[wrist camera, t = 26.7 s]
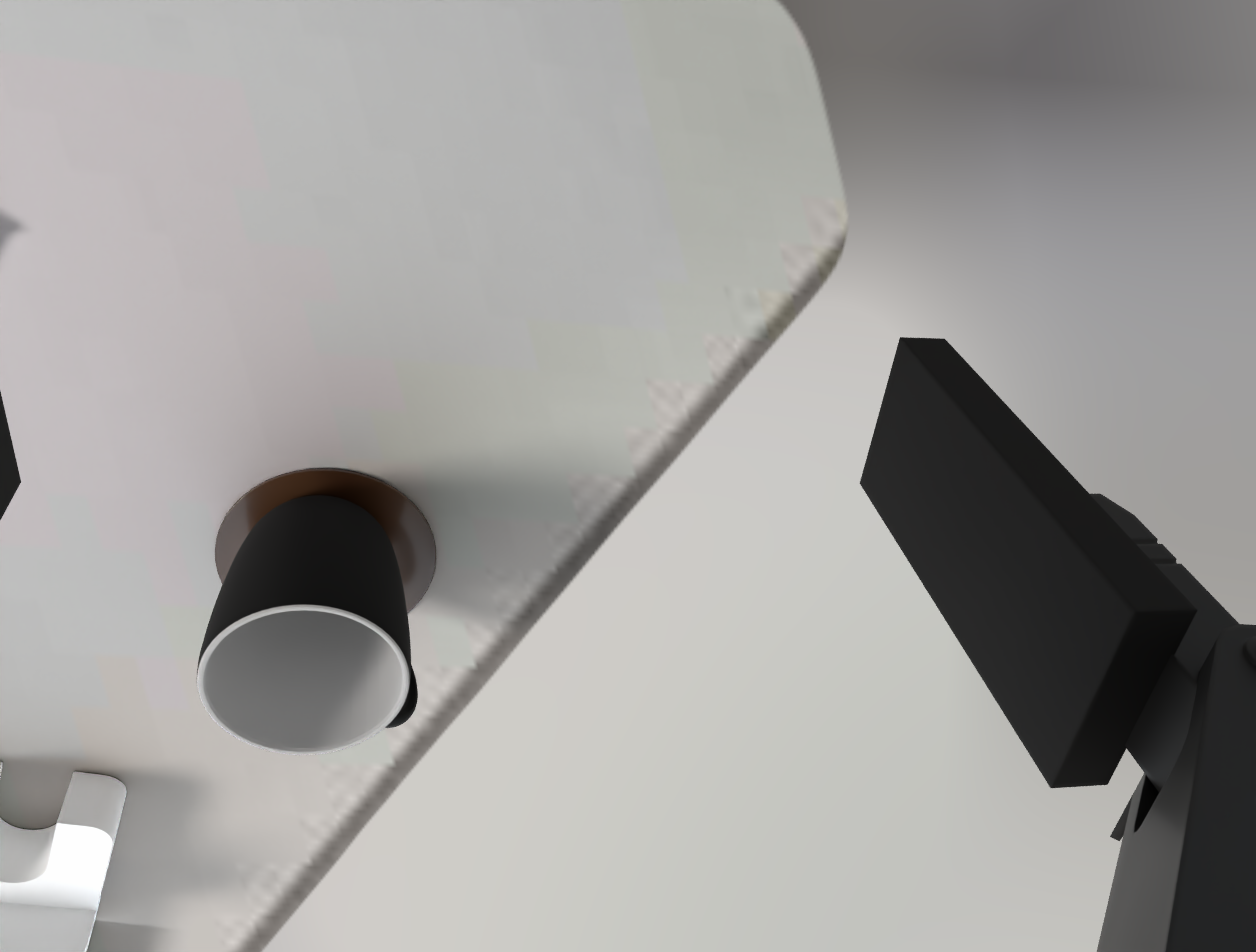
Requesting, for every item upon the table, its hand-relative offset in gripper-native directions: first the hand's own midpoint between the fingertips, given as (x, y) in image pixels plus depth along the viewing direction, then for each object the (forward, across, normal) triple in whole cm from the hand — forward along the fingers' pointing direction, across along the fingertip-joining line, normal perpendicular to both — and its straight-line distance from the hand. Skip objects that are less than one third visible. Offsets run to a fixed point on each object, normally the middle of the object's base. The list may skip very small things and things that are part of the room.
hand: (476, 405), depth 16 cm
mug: (+32, -4, -27) cm, 42 cm away
